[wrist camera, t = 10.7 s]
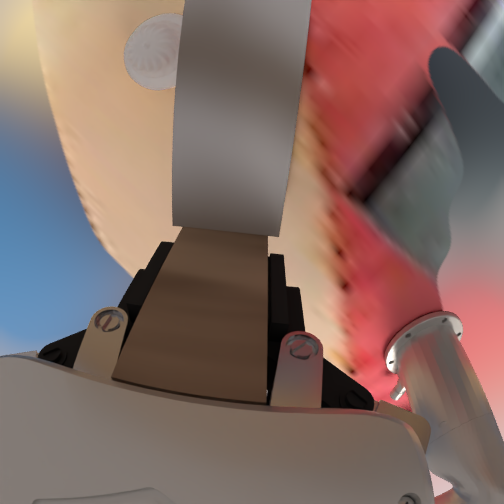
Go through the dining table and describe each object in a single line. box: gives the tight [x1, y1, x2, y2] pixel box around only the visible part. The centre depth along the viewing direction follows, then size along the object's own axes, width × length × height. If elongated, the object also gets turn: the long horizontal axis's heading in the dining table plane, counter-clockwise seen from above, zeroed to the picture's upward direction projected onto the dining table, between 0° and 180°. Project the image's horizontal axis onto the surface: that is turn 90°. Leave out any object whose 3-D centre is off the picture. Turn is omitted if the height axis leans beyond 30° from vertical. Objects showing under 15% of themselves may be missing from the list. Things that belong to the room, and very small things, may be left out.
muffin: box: [124, 13, 183, 90], centre depth 16 cm, size 6×6×7 cm
